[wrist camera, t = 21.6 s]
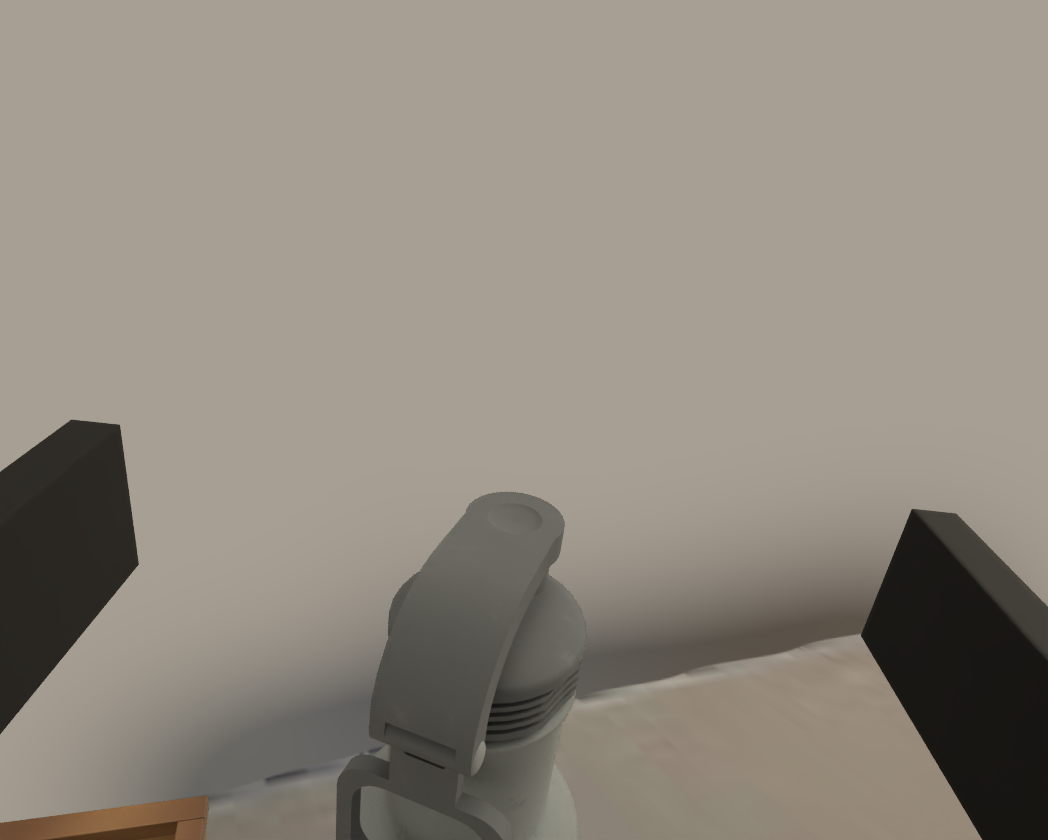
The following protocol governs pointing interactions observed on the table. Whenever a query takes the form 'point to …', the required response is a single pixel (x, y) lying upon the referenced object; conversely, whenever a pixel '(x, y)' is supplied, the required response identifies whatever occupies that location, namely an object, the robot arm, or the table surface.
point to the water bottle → (473, 689)
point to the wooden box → (119, 823)
